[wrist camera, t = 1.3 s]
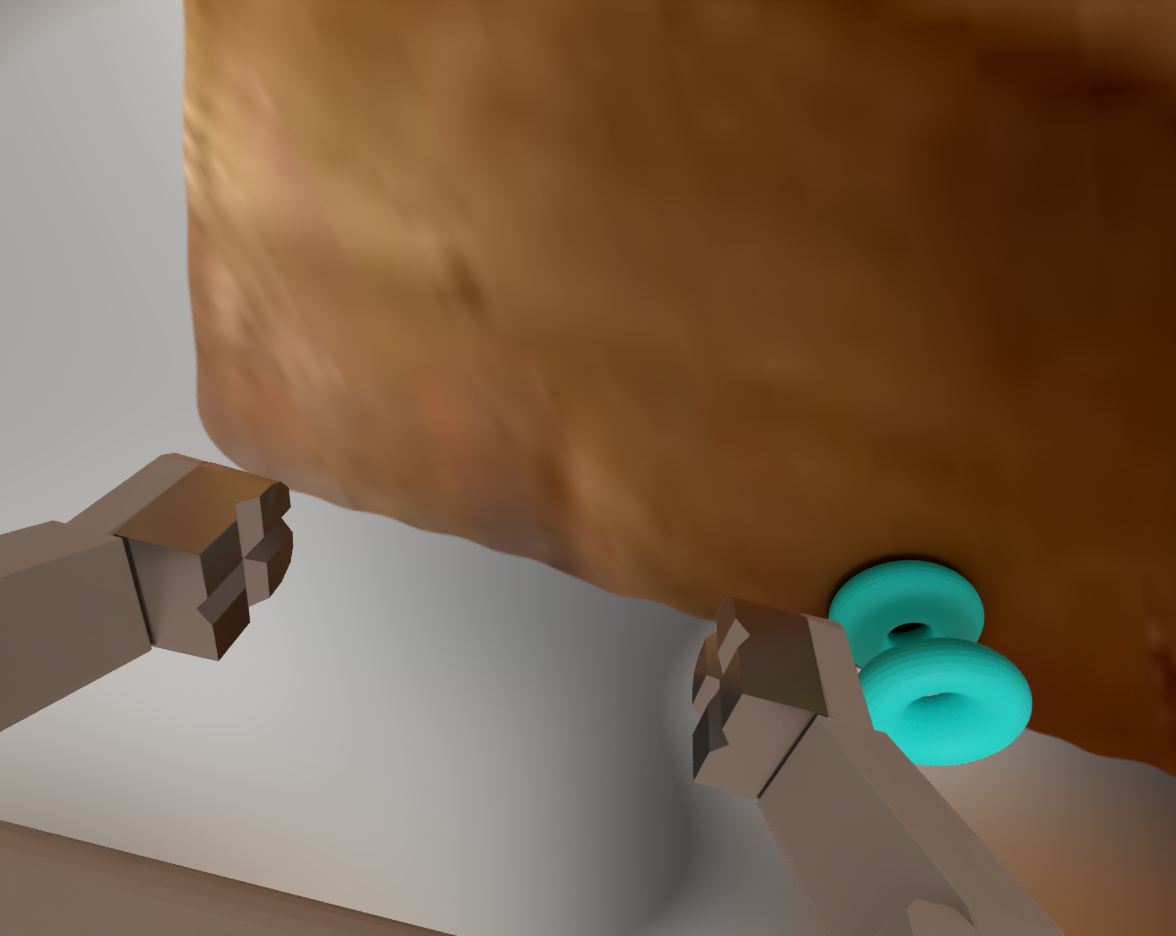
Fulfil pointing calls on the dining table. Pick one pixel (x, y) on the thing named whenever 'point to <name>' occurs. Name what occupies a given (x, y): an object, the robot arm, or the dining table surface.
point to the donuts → (930, 664)
